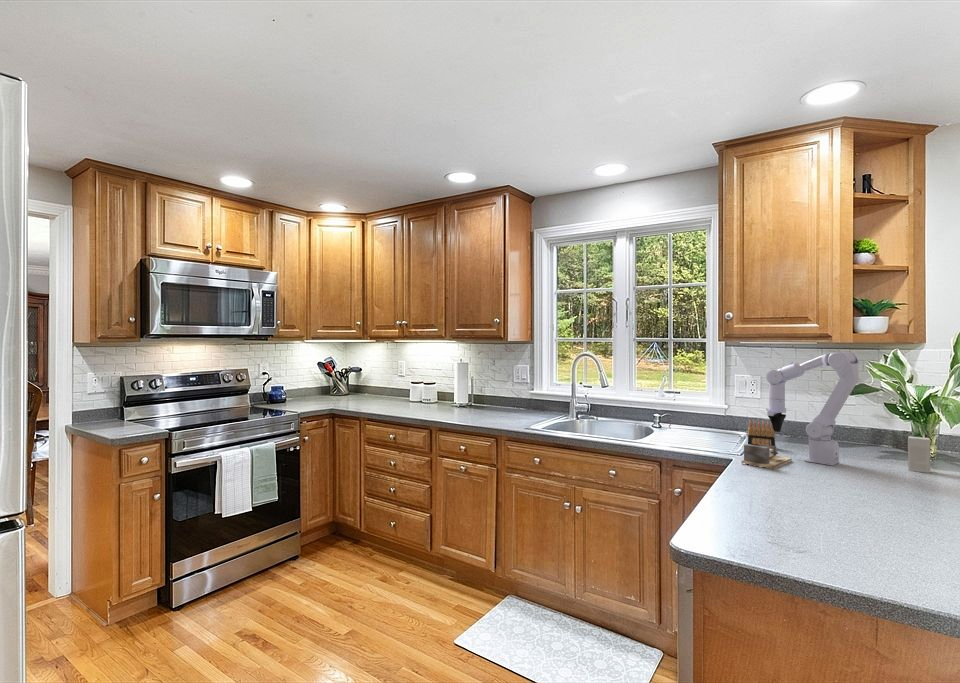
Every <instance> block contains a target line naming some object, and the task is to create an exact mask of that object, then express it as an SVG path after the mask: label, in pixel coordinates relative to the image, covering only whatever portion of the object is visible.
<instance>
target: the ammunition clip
mask: <svg viewBox="0 0 960 683" xmlns="http://www.w3.org/2000/svg"><path fill="white" fill-rule="evenodd" d="M756 421H757V420H755V419H754V420H753V422H752V420H751V419H749V421H748V427H747V444H751V445H758V446H759V444H762V445H769V446H776V432H774V430H773V427H772V423H771V424H770V422H769V421H770V420H767V422H765V420H764V419H763V420H762V422H761V421H760V420H759V419H758V421H757V422H756Z"/></svg>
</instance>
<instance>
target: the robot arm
mask: <svg viewBox="0 0 960 683" xmlns="http://www.w3.org/2000/svg"><path fill="white" fill-rule="evenodd" d="M859 364H860V361H859V359H858V356H856V354H855V353H854V352H852V351H848V350H847V351H846V350H845V351H832V352H831V353H825V354H821V355H820V356H817V357H814V358H812V359H810V360H807V361H805V362H802V363H800V362H794V361H792V362H791V361H790V362H788V365H785V366H779V367H777V369H771V370H770V371H768V372H767V373H766V376H765V377H766V380H767V382H768V408H766V409H765V411H767V413H766V414H767V417H768V419H769V421H770V423H771V424H772V427H773V430H774V432H775V433H781V430H782V428H783V427H782V426H783V423H784V421H785V419H786V417H787V414H786V413H787V407H786V383H787V382H788V381H791V380H793V379H797V378H799V377H802V376H803V375H804V374H805V372H806V371H807V372H808V371H809V370H813V369H816V368H819V367H820V368H821V367H823V366H826V367H828V366H829V367H830V368H831V369H833V371H835V372H836V373H837V376H838V378H839V379H838V382H837V383H836V384H835V386H834V388H833V390H832V392H831V393H830V395H829V397H828V399H827V400H826V402H825V403H824V405H823V407H822V408H821V411H820V412H819V414H818V415H816V416H815V417H814V418H813V419H812V421H811V422H810V423H807V424H806V427H805V433H806V435H807V437H808V458H806V459H805V460H804V461H805V462H808V463H815V464H821V465H826V466H827V465H829V466H835V465H837V464H839V463H840V458H839V456H840V455H839V453H840V452H839V451H840V450H839V449H840V445H839V442H838V441H836V440H832V437H831V436H833V434H834V430H835V428H834V427H835V425H836V419H837V417H838V415H839V413H840V411H841V409H842V408H843V407H844V405H845V404H846V402H847V400H848V398H849V397H850V395H851V394H852V391H853V390H854V388H855V386H856V385H857V383H858V382H859V380H860V379H859ZM783 413H785V414H783Z"/></svg>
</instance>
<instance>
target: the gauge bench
mask: <svg viewBox="0 0 960 683" xmlns="http://www.w3.org/2000/svg"><path fill="white" fill-rule="evenodd" d="M792 460H793V459H792V457H787V456H781V455H776V456H774V455H773V456H771V457H769V447H765V446H758V445H751V444H748V443H746V444H743V460H741V464H742V463H745V464H750V465H755V466H754V467H756V466H761V467H760V468H762V467H766V468H765V469H767V468H770V469H769V470H774V468H775V469H776V467H777V468H779V467H781V465H782V466H784V465H787V464H789V463H791V462H792ZM788 462H789V463H788ZM745 464H744V465H745ZM750 465H749V466H750Z"/></svg>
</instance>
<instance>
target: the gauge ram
mask: <svg viewBox="0 0 960 683" xmlns="http://www.w3.org/2000/svg"><path fill="white" fill-rule="evenodd" d="M759 446H765V447H769V457H771V456H773V455H774V456H777V455H779V452H777V446H776V445H775V446H769V445H762V444H759Z"/></svg>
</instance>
